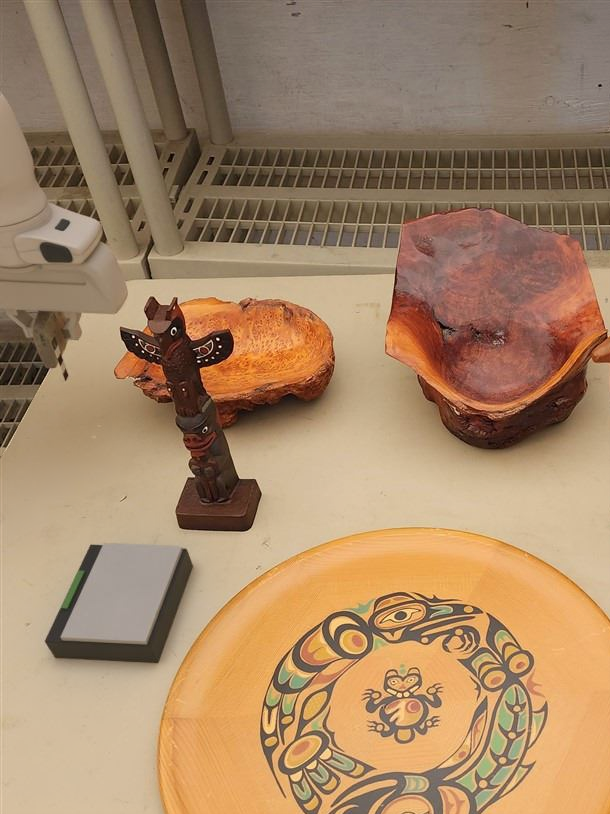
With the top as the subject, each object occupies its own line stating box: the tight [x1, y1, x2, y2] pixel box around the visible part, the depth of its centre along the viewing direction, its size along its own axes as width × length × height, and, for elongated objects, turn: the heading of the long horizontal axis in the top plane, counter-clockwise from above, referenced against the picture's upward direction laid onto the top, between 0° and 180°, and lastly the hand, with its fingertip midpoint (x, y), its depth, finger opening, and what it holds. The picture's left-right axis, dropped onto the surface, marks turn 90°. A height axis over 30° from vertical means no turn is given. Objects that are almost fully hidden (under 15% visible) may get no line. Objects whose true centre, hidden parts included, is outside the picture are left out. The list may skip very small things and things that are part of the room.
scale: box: [44, 542, 194, 664], centre depth 92 cm, size 11×13×4 cm
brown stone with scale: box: [32, 311, 70, 382], centre depth 104 cm, size 6×4×12 cm
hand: (55, 336), depth 105 cm, fingers closed on brown stone with scale, 3 cm apart
